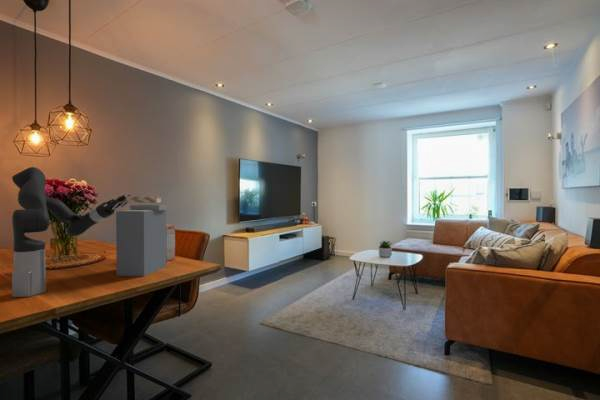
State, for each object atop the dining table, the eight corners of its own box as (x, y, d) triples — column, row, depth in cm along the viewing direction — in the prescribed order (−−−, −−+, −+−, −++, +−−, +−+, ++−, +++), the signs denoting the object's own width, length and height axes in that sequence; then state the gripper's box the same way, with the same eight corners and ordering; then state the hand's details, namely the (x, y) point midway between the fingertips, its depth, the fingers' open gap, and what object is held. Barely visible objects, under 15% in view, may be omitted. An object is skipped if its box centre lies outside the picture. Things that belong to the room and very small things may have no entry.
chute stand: (169, 266, 163) (168, 205, 162) (147, 276, 143) (147, 206, 142) (141, 265, 164) (141, 204, 164) (116, 275, 145) (116, 206, 144)
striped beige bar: (161, 202, 159) (161, 196, 159) (156, 202, 155) (156, 196, 155) (121, 201, 161) (121, 196, 161) (116, 202, 157) (116, 196, 157)
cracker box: (175, 259, 180) (175, 224, 179) (166, 261, 175) (166, 225, 174) (161, 256, 187) (161, 223, 187) (152, 258, 182) (152, 224, 182)
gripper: (87, 206, 153) (115, 190, 151) (108, 205, 167) (133, 190, 166) (94, 219, 153) (122, 203, 151) (114, 217, 167) (139, 202, 165)
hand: (127, 196), depth 158 cm, fingers closed on striped beige bar, 4 cm apart
